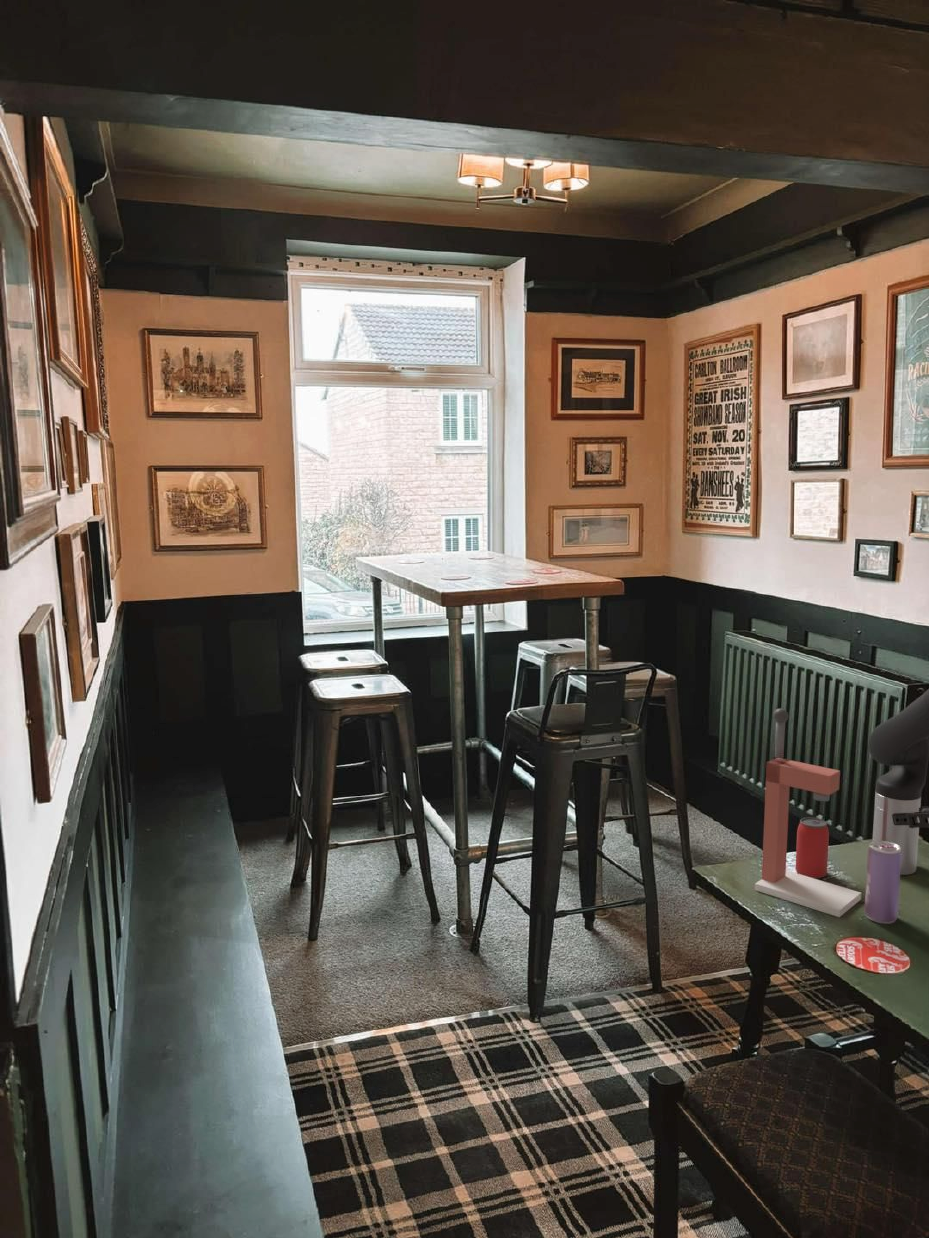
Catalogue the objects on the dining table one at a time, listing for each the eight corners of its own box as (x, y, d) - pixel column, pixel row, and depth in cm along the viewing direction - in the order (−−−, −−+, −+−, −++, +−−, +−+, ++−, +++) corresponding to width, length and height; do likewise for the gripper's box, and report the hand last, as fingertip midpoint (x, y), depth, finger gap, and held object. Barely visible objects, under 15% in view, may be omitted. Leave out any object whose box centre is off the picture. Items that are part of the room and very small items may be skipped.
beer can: (832, 874, 201) (835, 822, 199) (816, 882, 197) (818, 829, 195) (806, 864, 206) (808, 814, 204) (789, 872, 202) (791, 820, 200)
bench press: (778, 874, 201) (785, 702, 195) (860, 899, 188) (871, 717, 183) (754, 889, 193) (762, 712, 188) (839, 917, 181) (849, 727, 175)
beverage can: (900, 926, 177) (905, 852, 175) (868, 923, 178) (872, 850, 176) (892, 912, 183) (897, 841, 180) (861, 909, 184) (865, 839, 182)
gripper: (1007, 786, 164) (924, 791, 177) (963, 797, 156) (880, 801, 170) (1017, 828, 163) (933, 829, 176) (973, 841, 155) (888, 841, 169)
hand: (907, 815), depth 173 cm, fingers open, 8 cm apart
